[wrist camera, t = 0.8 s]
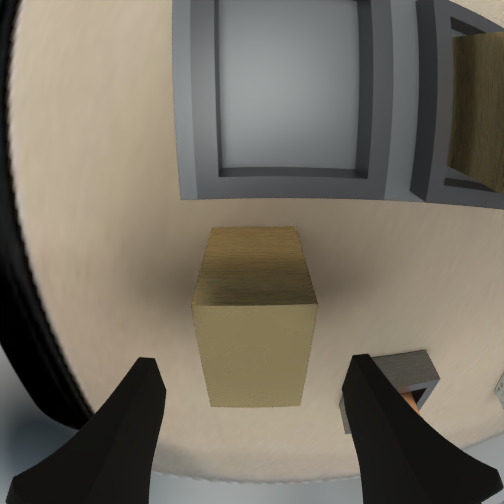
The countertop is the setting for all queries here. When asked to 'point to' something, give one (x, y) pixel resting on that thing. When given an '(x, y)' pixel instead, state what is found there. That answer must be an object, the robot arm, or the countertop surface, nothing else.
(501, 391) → the supplement box
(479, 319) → the countertop surface
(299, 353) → the block
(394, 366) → the button housing
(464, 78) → the block
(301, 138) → the tray
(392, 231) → the countertop surface
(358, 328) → the countertop surface
